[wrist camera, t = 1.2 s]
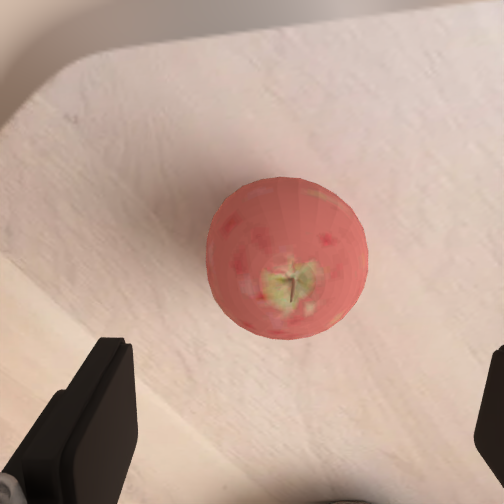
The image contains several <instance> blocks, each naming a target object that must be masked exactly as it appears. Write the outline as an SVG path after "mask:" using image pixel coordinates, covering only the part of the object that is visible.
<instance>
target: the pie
mask: <svg viewBox="0 0 504 504" xmlns="http://www.w3.org/2000/svg"><path fill="white" fill-rule="evenodd" d="M329 504H369V503H365V502H347V501H340V502H334V503H329Z"/></svg>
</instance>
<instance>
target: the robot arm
mask: <svg viewBox="0 0 504 504" xmlns="http://www.w3.org/2000/svg"><path fill="white" fill-rule="evenodd" d="M137 438H138V423H137V408H136V393H135V378H134V362H133V348H132V345H131V344H125V340H124V338H105V337H102V338H100V339H99V340H98V341H97V343H96V344H95V346H94V347H93V349H92V350H91V352H90V353H89V355H88V356H87V358H86V360H85V361H84V363H83V364H82V366H81V367H80V369H79V370H78V372H77V373H76V375H75V376H74V378H73V379H72V381H71V383H70V384H69V386H68V387H67V389H66V390H59V391H57V392H56V393H55V394H54V395H53V397H52V398H51V400H50V401H49V403H48V404H47V406H46V407H45V409H44V410H43V412H42V413H41V415H40V416H39V417H38V419H37V420H36V422H35V423H34V425H33V426H32V428H31V429H30V431H29V432H28V434H27V435H26V436H25V438H24V439H23V441H22V442H21V444H20V445H19V447H18V448H17V450H16V451H15V453H14V454H13V455H12V457H11V458H10V460H9V461H8V463H7V464H6V466H5V467H4V469H3V470H2V472H0V504H117V502H118V499H119V496H120V493H121V490H122V487H123V484H124V481H125V478H126V475H127V472H128V469H129V466H130V463H131V460H132V457H133V454H134V451H135V448H136V444H137ZM474 443H475V446H476V448H477V450H478V452H479V453H480V455H481V456H482V457H483V459H484V460H485V462H486V463H487V465H488V466H489V467H490V469H491V470H492V472H493V473H494V475H495V476H496V478H497V479H498V480H499V482H500V483H501V485H502V486H503V488H504V345H502V346H501V347H500V348H499V350H496V351H495V352H494V353H493V355H492V359H491V364H490V368H489V372H488V376H487V381H486V385H485V389H484V393H483V398H482V402H481V406H480V410H479V415H478V419H477V423H476V427H475V432H474Z"/></svg>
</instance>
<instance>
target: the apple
mask: <svg viewBox="0 0 504 504" xmlns="http://www.w3.org/2000/svg"><path fill="white" fill-rule="evenodd" d="M206 266H207V275H208V281H209V285H210V287H211V291H212V294H213V297H214V299H215V301H216V302H217V303H218V305H219V306H220V308H221V309H222V310H223V312H224V313H225V314H226V315H227V316H228V317H229V318H230V319H232V320H233V321H234V322H235V323H236V324H237V325H239V326H240V327H242V328H244V329H246V330H248V331H250V332H252V333H254V334H256V335H259V336H263V337H267V338H271V339H282V340H293V339H299V338H306V337H310V336H313V335H315V334H318V333H320V332H323V331H325V330H328V329H329V328H330V327H332V326H333V325H334V324H336V323H337V322H338V321H340V320H341V319H343V318H344V316H345V315H346V314H347V313H348V312H349V310H350V309H351V308H352V307H353V306H354V305H355V303H356V302H357V300H358V298H359V296H360V294H361V292H362V290H363V288H364V285H365V281H366V277H367V273H368V248H367V243H366V238H365V233H364V229H363V227H362V225H361V223H360V222H359V220H358V218H357V216H356V215H355V213H354V211H353V210H352V208H351V207H350V206H348V205H347V204H346V203H345V202H344V201H343V200H342V199H341V198H339V197H338V196H337V195H336V194H334V193H333V192H331V191H329V190H327V189H326V188H324V187H322V186H320V185H318V184H315V183H312V182H309V181H306V180H303V179H300V178H288V177H276V178H269V179H262V180H259V181H256V182H253V183H250V184H247V185H244V186H242V187H241V188H240V189H238V190H237V191H236V192H234V193H233V194H232V195H230V196H229V197H228V198H226V199H225V200H224V202H223V203H222V205H221V206H220V208H219V209H218V211H217V212H216V213H215V215H214V217H213V219H212V223H211V226H210V229H209V233H208V236H207V246H206Z"/></svg>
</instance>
